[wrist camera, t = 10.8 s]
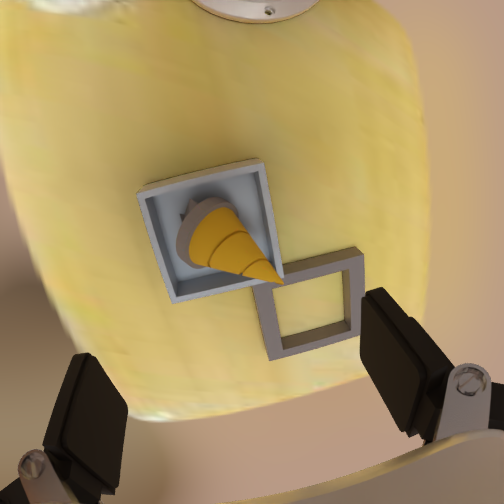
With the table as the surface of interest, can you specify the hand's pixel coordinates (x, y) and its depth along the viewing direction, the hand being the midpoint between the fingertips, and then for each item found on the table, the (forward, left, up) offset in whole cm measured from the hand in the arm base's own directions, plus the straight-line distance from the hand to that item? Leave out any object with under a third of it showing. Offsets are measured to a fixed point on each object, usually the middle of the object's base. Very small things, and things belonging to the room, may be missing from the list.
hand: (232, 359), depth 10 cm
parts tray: (+1, 0, -17) cm, 17 cm away
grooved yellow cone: (+1, 0, -16) cm, 16 cm away
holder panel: (+10, +7, -17) cm, 21 cm away
